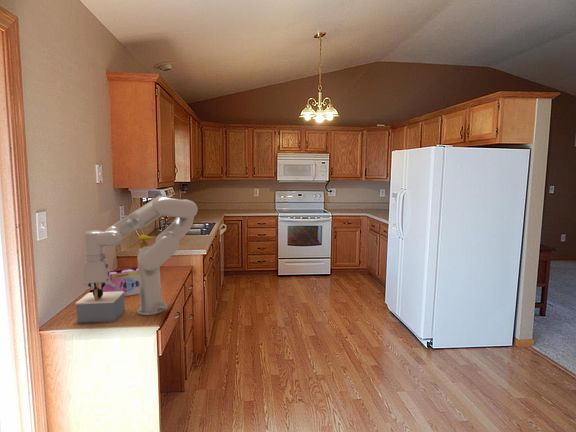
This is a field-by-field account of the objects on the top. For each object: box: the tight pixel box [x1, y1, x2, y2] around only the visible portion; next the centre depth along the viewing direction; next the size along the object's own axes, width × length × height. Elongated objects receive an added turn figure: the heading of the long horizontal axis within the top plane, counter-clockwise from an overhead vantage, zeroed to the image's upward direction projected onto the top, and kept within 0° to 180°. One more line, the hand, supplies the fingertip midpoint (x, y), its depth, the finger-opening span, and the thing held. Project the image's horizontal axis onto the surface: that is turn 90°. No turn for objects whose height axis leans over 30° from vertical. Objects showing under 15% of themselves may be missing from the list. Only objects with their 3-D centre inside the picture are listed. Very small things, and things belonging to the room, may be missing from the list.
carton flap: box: [74, 286, 124, 305], centre depth 172 cm, size 14×16×6 cm
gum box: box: [103, 266, 140, 298], centre depth 205 cm, size 24×8×14 cm, turn 123°
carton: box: [75, 293, 126, 324], centre depth 174 cm, size 14×16×9 cm
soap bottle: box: [137, 234, 155, 252], centre depth 228 cm, size 13×10×29 cm
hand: (98, 296), depth 170 cm, fingers closed
